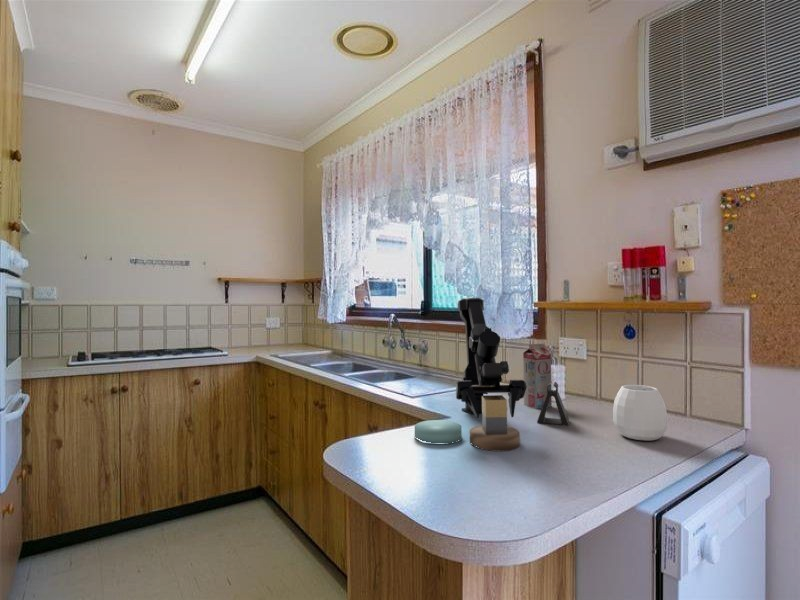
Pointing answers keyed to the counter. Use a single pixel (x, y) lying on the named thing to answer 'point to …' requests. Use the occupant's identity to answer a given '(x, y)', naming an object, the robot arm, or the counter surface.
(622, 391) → the white faceted vase
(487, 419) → the block
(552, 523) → the counter surface
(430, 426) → the stand
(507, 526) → the counter surface
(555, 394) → the phone stand
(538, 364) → the juice carton
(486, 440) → the stand
